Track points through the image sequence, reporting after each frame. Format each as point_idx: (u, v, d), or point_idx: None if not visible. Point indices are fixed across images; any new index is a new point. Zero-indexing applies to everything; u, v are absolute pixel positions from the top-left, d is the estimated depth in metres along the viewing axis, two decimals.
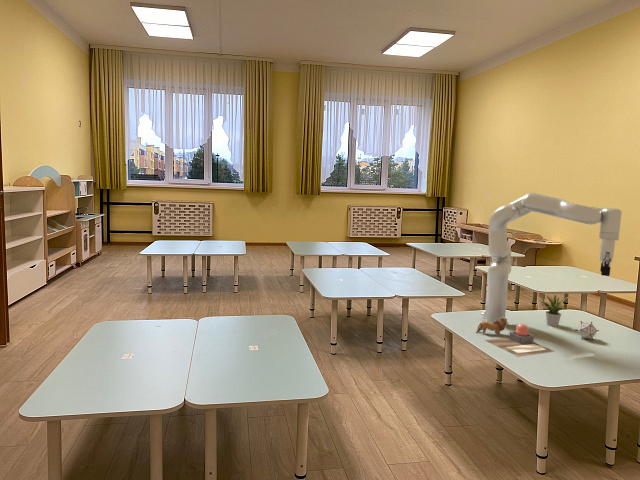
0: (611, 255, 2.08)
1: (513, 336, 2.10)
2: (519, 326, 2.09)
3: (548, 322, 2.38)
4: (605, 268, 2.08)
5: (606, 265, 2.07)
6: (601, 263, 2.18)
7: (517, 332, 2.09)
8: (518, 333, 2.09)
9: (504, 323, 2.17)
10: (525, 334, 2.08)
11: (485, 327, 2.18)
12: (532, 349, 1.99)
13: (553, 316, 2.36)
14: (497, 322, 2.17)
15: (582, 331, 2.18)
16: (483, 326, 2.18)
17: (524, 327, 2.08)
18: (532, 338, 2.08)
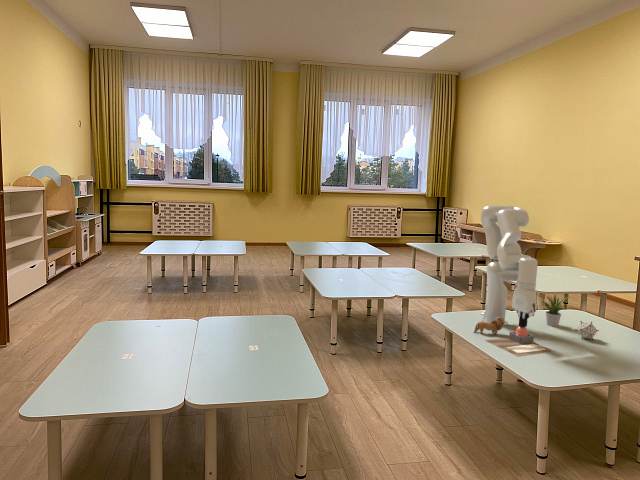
0: (534, 311, 2.05)
1: (513, 336, 2.10)
2: (519, 328, 2.09)
3: (548, 322, 2.38)
4: (525, 320, 2.08)
5: (527, 317, 2.07)
6: (520, 318, 2.09)
7: (517, 334, 2.10)
8: None
9: (501, 323, 2.17)
10: None
11: (482, 327, 2.18)
12: (532, 349, 1.99)
13: (553, 316, 2.36)
14: (494, 322, 2.18)
15: (582, 331, 2.18)
16: (480, 326, 2.18)
17: (524, 329, 2.08)
18: (532, 338, 2.08)
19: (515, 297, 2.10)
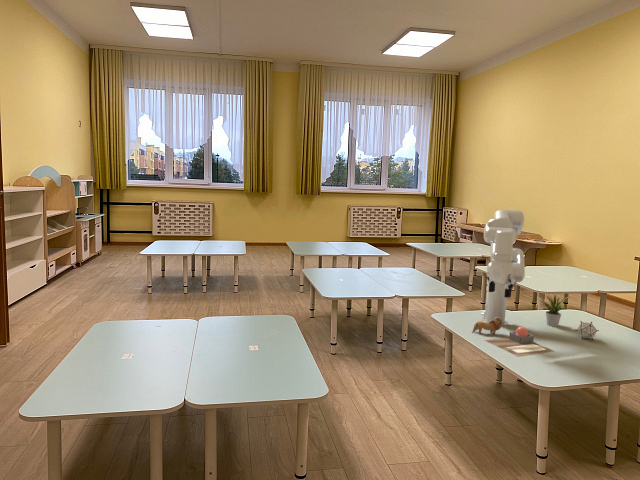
0: (511, 277, 2.11)
1: (513, 336, 2.10)
2: (519, 329, 2.09)
3: (548, 322, 2.38)
4: (509, 290, 2.10)
5: (511, 287, 2.10)
6: (490, 284, 2.19)
7: None
8: None
9: (500, 322, 2.17)
10: None
11: (481, 327, 2.18)
12: (532, 349, 1.99)
13: (553, 316, 2.36)
14: (493, 322, 2.18)
15: (582, 331, 2.18)
16: (479, 326, 2.18)
17: (524, 330, 2.08)
18: (532, 338, 2.08)
19: (492, 269, 2.16)
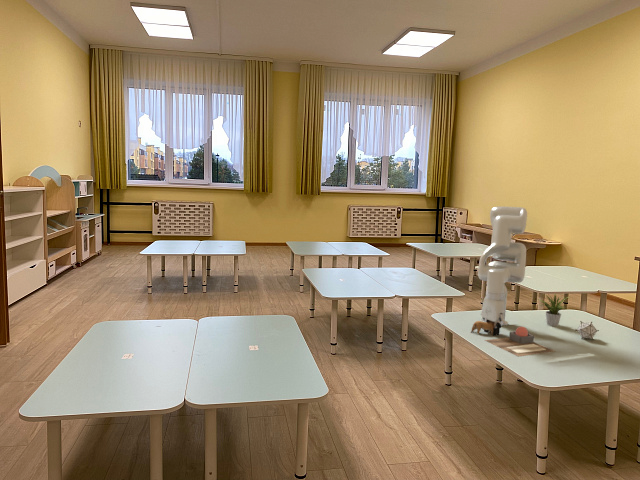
0: (503, 317, 2.15)
1: (513, 336, 2.10)
2: (519, 329, 2.09)
3: (548, 322, 2.38)
4: (497, 329, 2.16)
5: (499, 327, 2.15)
6: None
7: None
8: None
9: None
10: None
11: (480, 327, 2.18)
12: (532, 349, 1.99)
13: (553, 316, 2.36)
14: (491, 321, 2.18)
15: (582, 331, 2.18)
16: (478, 326, 2.18)
17: (524, 330, 2.08)
18: (532, 338, 2.08)
19: (484, 306, 2.20)
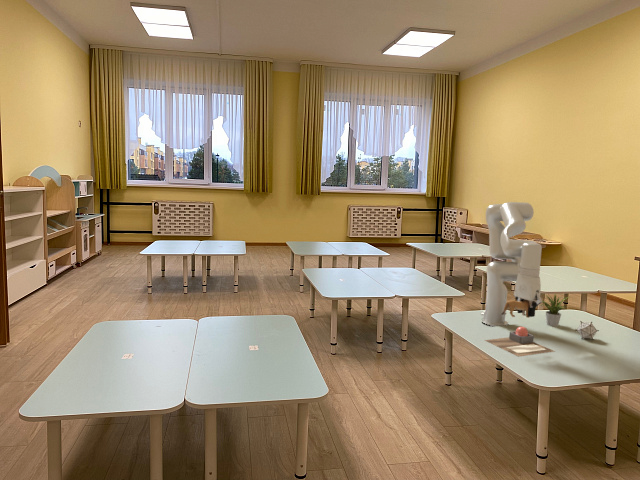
0: None
1: (513, 336, 2.10)
2: (519, 329, 2.09)
3: (548, 322, 2.38)
4: (533, 309, 1.96)
5: (535, 306, 1.95)
6: None
7: None
8: None
9: None
10: None
11: (513, 306, 1.98)
12: (532, 349, 1.99)
13: (553, 316, 2.36)
14: (526, 300, 1.98)
15: (582, 331, 2.18)
16: (511, 305, 1.98)
17: (524, 330, 2.08)
18: (532, 338, 2.08)
19: (518, 284, 2.00)
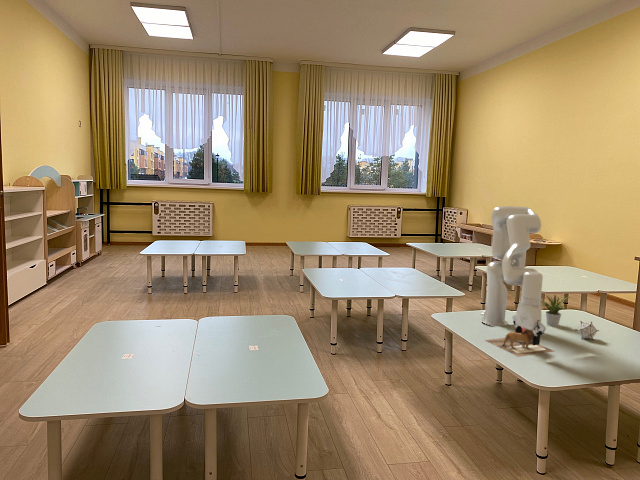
0: (540, 322, 1.95)
1: None
2: None
3: (548, 322, 2.38)
4: (537, 337, 1.94)
5: (540, 334, 1.93)
6: (516, 328, 2.03)
7: None
8: None
9: (533, 333, 1.99)
10: None
11: (513, 338, 1.99)
12: (532, 349, 1.99)
13: (553, 316, 2.36)
14: (526, 332, 1.99)
15: (582, 331, 2.18)
16: (511, 337, 1.99)
17: (524, 330, 2.08)
18: None
19: (519, 313, 2.00)
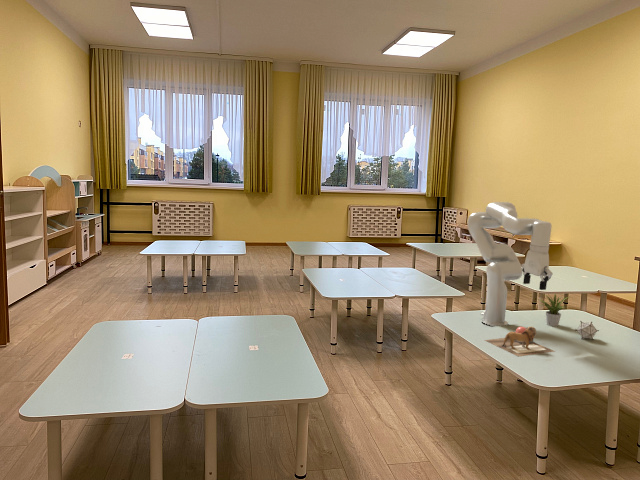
0: None
1: None
2: (519, 329, 2.09)
3: (548, 322, 2.38)
4: (544, 282, 2.06)
5: (546, 280, 2.05)
6: (525, 275, 2.15)
7: None
8: None
9: (533, 333, 1.99)
10: None
11: (513, 338, 1.99)
12: (532, 349, 1.99)
13: (553, 316, 2.36)
14: (526, 332, 1.99)
15: (582, 331, 2.18)
16: (511, 337, 1.99)
17: (524, 330, 2.08)
18: None
19: (527, 260, 2.12)
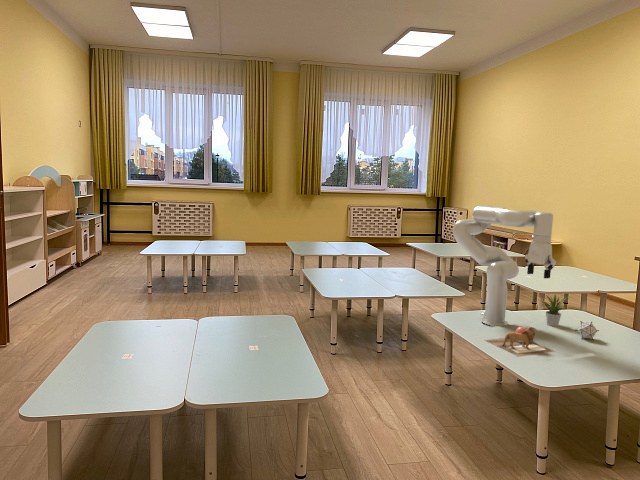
0: None
1: None
2: (519, 329, 2.09)
3: (548, 322, 2.38)
4: (548, 271, 2.13)
5: (550, 268, 2.12)
6: (528, 266, 2.22)
7: None
8: None
9: (533, 333, 1.99)
10: None
11: (513, 338, 1.99)
12: (532, 349, 1.99)
13: (553, 316, 2.36)
14: (526, 332, 1.99)
15: (582, 331, 2.18)
16: (511, 337, 1.99)
17: (524, 330, 2.08)
18: None
19: (531, 250, 2.19)
